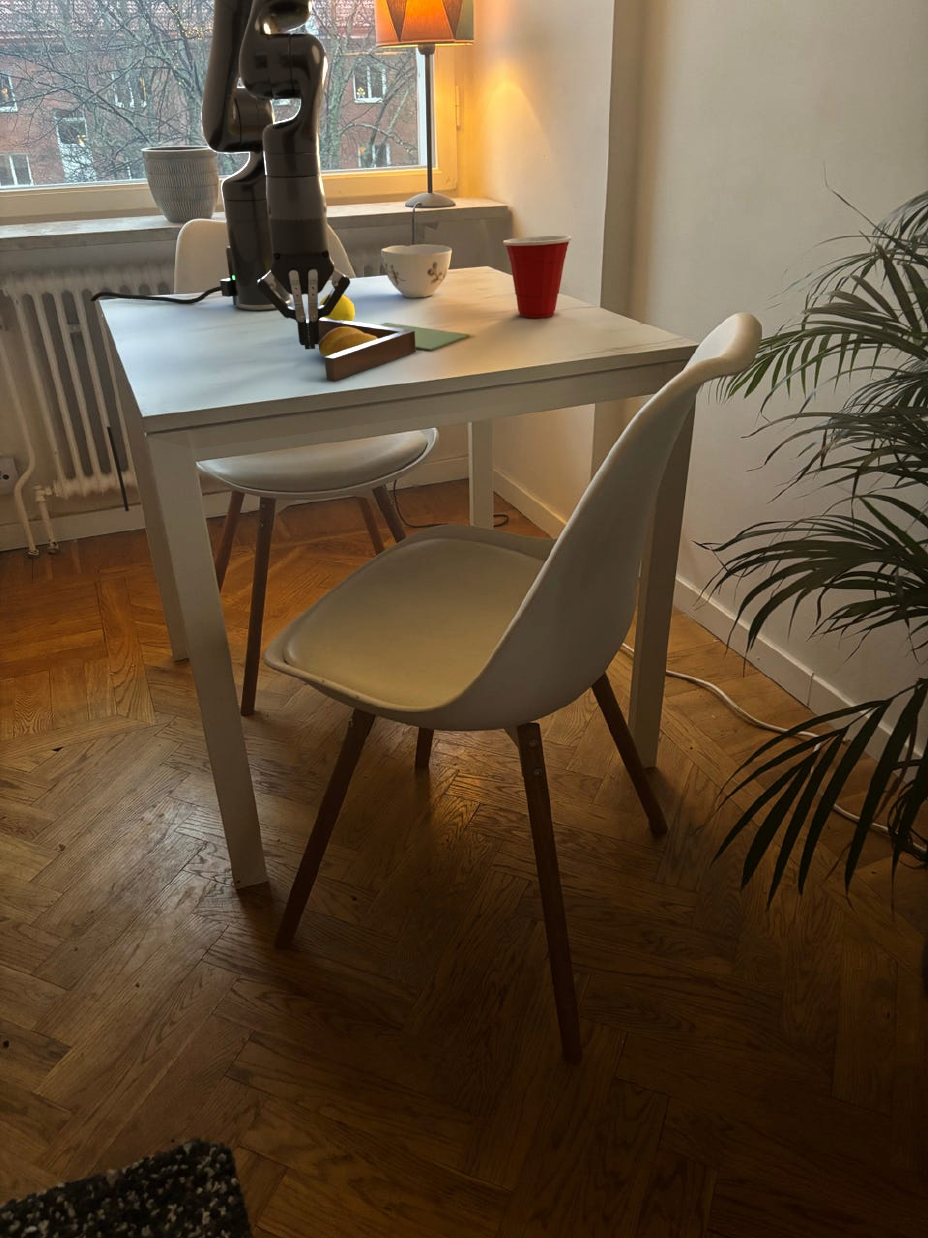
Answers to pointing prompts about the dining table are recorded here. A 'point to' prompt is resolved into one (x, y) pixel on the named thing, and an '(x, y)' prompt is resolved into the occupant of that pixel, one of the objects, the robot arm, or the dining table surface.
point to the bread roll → (343, 340)
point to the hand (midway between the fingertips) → (309, 347)
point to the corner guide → (366, 348)
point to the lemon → (341, 309)
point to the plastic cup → (537, 272)
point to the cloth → (430, 336)
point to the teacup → (416, 268)
